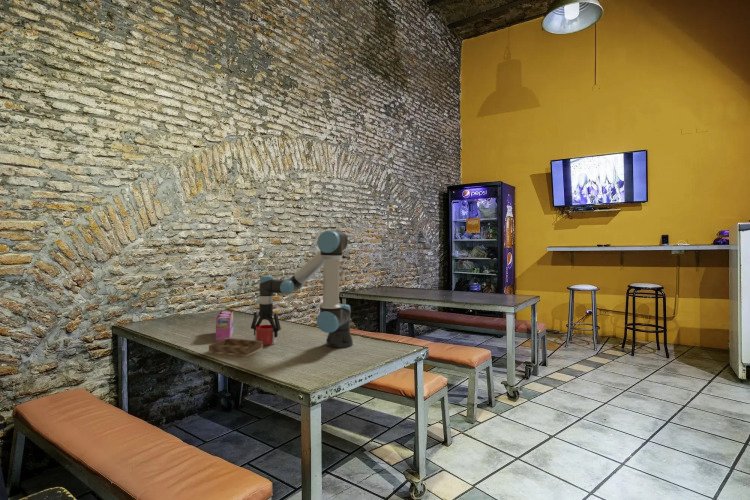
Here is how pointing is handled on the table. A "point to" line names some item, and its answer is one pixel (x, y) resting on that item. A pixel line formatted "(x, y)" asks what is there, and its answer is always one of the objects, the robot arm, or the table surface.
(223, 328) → the gum box
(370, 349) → the table surface
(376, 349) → the table surface
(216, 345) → the wooden tray
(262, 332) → the flower pot
